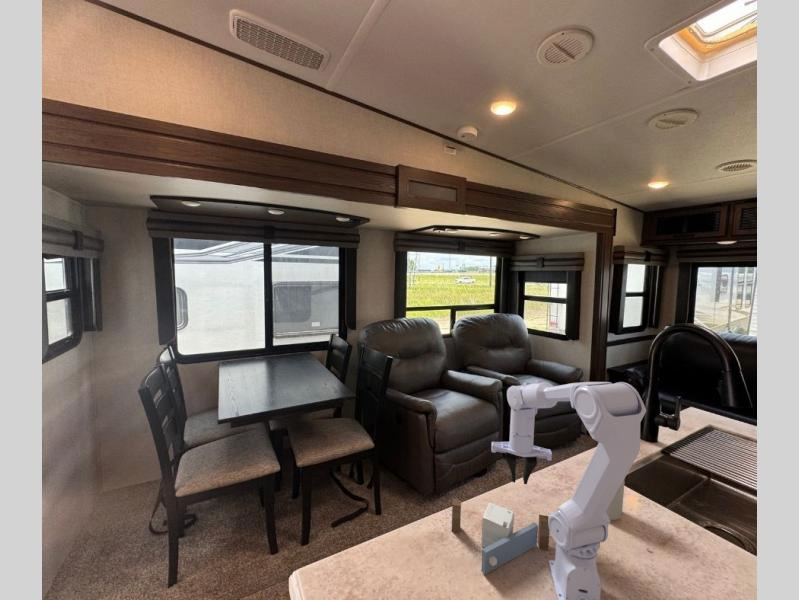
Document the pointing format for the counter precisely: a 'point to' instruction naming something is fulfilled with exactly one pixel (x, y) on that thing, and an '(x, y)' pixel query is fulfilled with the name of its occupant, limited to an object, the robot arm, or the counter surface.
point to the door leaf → (509, 548)
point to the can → (616, 504)
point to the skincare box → (496, 524)
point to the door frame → (542, 527)
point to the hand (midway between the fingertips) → (519, 480)
